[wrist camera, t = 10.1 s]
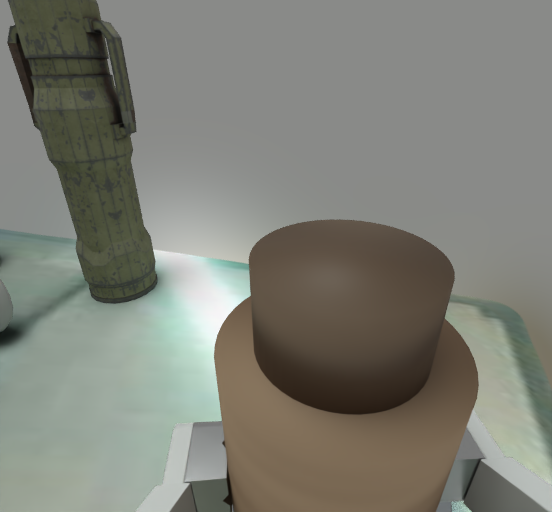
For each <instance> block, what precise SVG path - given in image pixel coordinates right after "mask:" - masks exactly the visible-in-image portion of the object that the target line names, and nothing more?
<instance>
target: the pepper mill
mask: <svg viewBox="0 0 552 512" xmlns="http://www.w3.org/2000/svg"><path fill="white" fill-rule="evenodd" d="M249 271H250V290H251V296H250V297H249V298H247V299H246V300H244V301H243V302H242V303H240V304H239V305H238V306H237V307H236V308H235V309H234V310H233V311H232V312H231V313H230V314H229V315H228V317H227V318H226V320H225V321H224V323H223V324H222V326H221V328H220V331H219V333H218V335H217V339H216V343H215V352H214V360H215V368H216V376H217V384H218V392H219V400H220V408H221V416H222V424H223V432H224V440H225V448H226V456H227V464H228V472H229V480H230V488H231V496H232V504H233V512H436V510H437V508H438V505H439V502H440V499H441V496H442V494H443V491H444V488H445V485H446V483H447V480H448V477H449V474H450V471H451V469H452V466H453V463H454V460H455V458H456V455H457V452H458V449H459V447H460V444H461V441H462V438H463V435H464V433H465V430H466V427H467V424H468V422H469V419H470V416H471V413H472V410H473V408H474V405H475V402H476V399H477V393H478V386H479V384H478V372H477V368H476V364H475V361H474V358H473V356H472V354H471V351H470V349H469V347H468V346H467V344H466V343H465V341H464V340H463V338H462V337H461V335H460V334H459V333H458V332H457V331H456V329H455V328H454V327H453V326H452V325H451V324H450V323H449V322H448V321H447V320H446V319H445V314H446V310H447V306H448V302H449V299H450V295H451V291H452V287H453V283H454V269H453V266H452V264H451V262H450V261H449V259H448V258H447V257H446V256H445V255H444V253H442V252H441V251H440V250H439V249H438V248H436V247H435V246H434V245H432V244H431V243H429V242H427V241H426V240H424V239H422V238H420V237H418V236H416V235H413V234H411V233H408V232H406V231H403V230H400V229H397V228H393V227H390V226H386V225H381V224H376V223H371V222H364V221H354V220H317V221H309V222H303V223H298V224H294V225H290V226H286V227H283V228H280V229H278V230H275V231H273V232H272V233H269V234H268V235H266V236H265V237H263V238H262V239H260V240H259V241H258V242H257V243H256V245H255V246H254V247H253V248H252V250H251V252H250V256H249Z"/></svg>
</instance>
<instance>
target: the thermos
mask: <svg viewBox="0 0 552 512" xmlns="http://www.w3.org/2000/svg"><path fill="white" fill-rule="evenodd" d="M8 2H9V5H10V8H11V11H12V15H13V18H14V22H15V25H14V26H10V30H9V36H8V46H9V48H10V52H11V54H12V58H13V61H14V63H15V66H16V69H17V72H18V75H19V78H20V81H21V84H22V87H23V90H24V93H25V96H26V99H27V102H28V105H29V108H30V112H31V115H32V119H33V123H34V126H35V127H36V128H37V129H39V130H40V132H41V135H42V139H43V142H44V145H45V148H46V151H47V155H48V158H49V160H50V161H51V163H52V164H53V165H54V166H55V167H56V169H57V171H58V174H59V178H60V181H61V184H62V188H63V191H64V194H65V198H66V201H67V204H68V208H69V211H70V214H71V218H72V221H73V224H74V227H75V231H76V234H77V242H76V252H77V255H78V258H79V262H80V265H81V268H82V271H83V275H84V278H85V280H86V281H87V282H88V284H89V287H90V288H89V289H90V293H91V296H92V297H93V298H94V299H95V300H97V301H100V302H103V303H120V302H127V301H130V300H133V299H137V298H139V297H141V296H143V295H145V294H147V293H148V292H149V291H151V290H152V289H153V288H154V287H155V285H156V284H157V274H156V272H155V257H154V252H153V248H152V242H151V237H150V235H149V233H148V232H147V230H146V229H145V227H144V225H143V219H142V214H141V209H140V204H139V199H138V194H137V189H136V184H135V179H134V174H133V169H132V164H131V156H132V152H133V148H132V143H131V138H130V135H131V133H134V132H136V122H135V112H134V106H133V100H132V95H131V90H130V84H129V79H128V73H127V68H126V63H125V57H124V52H123V46H122V41H121V37H120V36H119V34H118V33H117V32H116V30H115V29H114V27H113V26H112V25H111V23H109V22H104V21H102V20H101V18H100V12H99V7H98V4H97V1H96V0H8ZM105 38H106V40H107V45H108V50H109V55H110V60H111V65H112V70H113V75H114V80H115V85H116V88H115V86H114V81H113V76H112V75H110V72H109V67H108V62H107V59H108V52H107V47H106V42H105Z"/></svg>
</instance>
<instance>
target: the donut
mask: <svg viewBox="0 0 552 512" xmlns="http://www.w3.org/2000/svg"><path fill="white" fill-rule="evenodd" d="M12 317H13V305H12V301H11V298H10V295H9V293H8V291H7V289H6V287H5V285H4V283H3V282H2V281H1V279H0V332H1V331H3V330H4V329H5V328H7V326H8V325H9V323H10V321H11V319H12Z"/></svg>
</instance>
